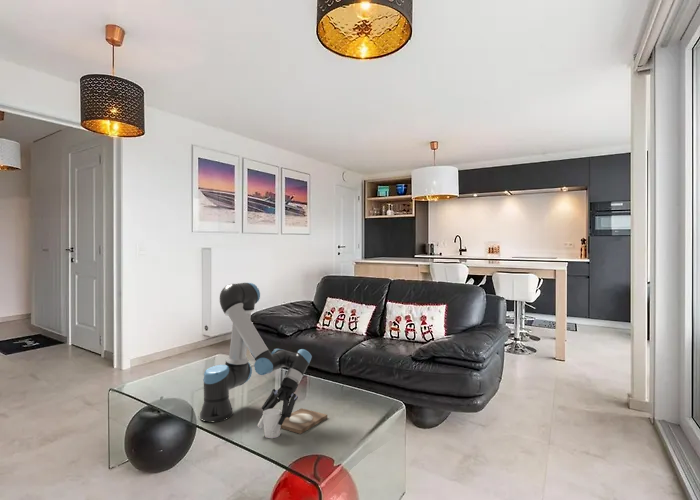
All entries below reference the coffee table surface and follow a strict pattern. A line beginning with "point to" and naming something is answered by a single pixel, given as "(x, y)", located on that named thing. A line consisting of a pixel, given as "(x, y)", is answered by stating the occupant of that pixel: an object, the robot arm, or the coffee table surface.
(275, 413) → the white cup
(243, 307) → the robot arm
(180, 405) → the coffee table surface
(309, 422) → the serving board
